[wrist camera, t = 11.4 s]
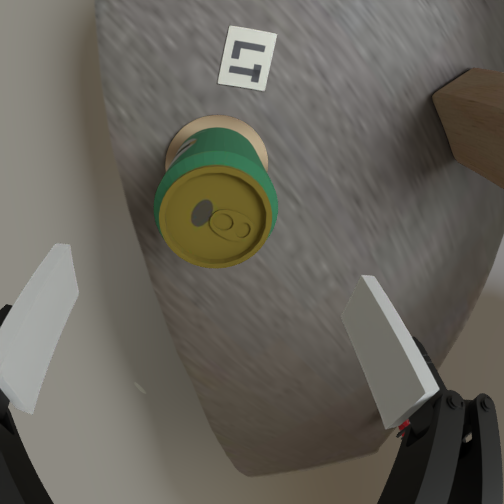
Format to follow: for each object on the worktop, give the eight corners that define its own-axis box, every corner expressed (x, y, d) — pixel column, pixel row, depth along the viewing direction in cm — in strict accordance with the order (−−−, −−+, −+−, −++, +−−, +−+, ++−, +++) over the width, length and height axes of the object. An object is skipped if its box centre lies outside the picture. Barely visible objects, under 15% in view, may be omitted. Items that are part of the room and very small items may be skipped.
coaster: (172, 109, 24) (171, 110, 24) (276, 124, 26) (277, 125, 26) (162, 204, 30) (161, 207, 29) (256, 215, 32) (256, 218, 31)
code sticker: (229, 25, 20) (229, 25, 20) (277, 34, 21) (277, 34, 21) (217, 83, 24) (217, 83, 24) (264, 91, 24) (264, 91, 24)
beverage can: (197, 112, 24) (180, 133, 14) (272, 148, 27) (306, 193, 17) (163, 185, 28) (133, 249, 18) (234, 215, 31) (243, 290, 20)
